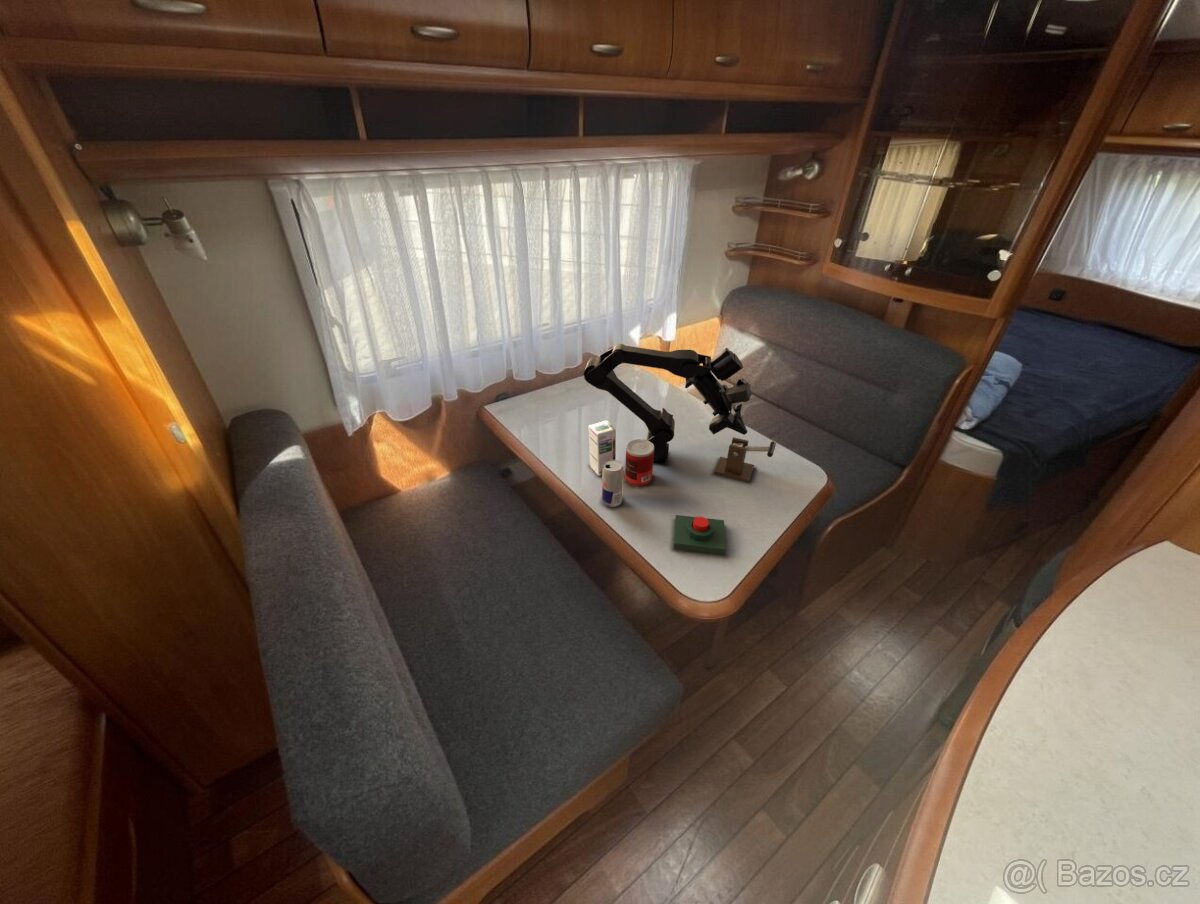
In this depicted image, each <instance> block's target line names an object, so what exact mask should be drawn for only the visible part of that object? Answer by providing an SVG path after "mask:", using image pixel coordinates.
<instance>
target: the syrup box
mask: <svg viewBox="0 0 1200 904" xmlns="http://www.w3.org/2000/svg"><path fill="white" fill-rule="evenodd" d="M616 433H617V429H616V428H615V427H614V426H613V425H612V424H611V423H610V421H608V420H603V421H601V422H600V421H599V422H597V423H593V424H589V425H588V443H589V445H588V446H589V466H590V468H591V469H592V471H594V472H595V474H596V475H597V476H598V477H600V476H602V467H603V464H604V462H606V461H608V460H617V459H616V455H617V454H616V453H617V452H616V450H617V448H616V447H617V445H616V443H617V441H616V439H617V438H616V437H617V434H616Z"/></svg>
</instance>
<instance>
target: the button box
mask: <svg viewBox="0 0 1200 904" xmlns="http://www.w3.org/2000/svg"><path fill="white" fill-rule="evenodd" d="M696 517H697V516H691V515H681V514H675V517H674V518H675V519H674V528H673V529H674V530H673V546H672V547H673V548H672V550H676V551H684V552H690V553H691V552H692V553H699V554H708V555H714V556H715V555H716V556H725V555H726V548H727V547H726V529H725V520H724V519H718V518H709V517H704V516H703V517H704V518H706V519H707V520H708V521H709V525H708V530H707V531H705V532H698V531H696V530H695V529H694V528H693V521H694V519H695V518H696Z"/></svg>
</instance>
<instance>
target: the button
mask: <svg viewBox="0 0 1200 904" xmlns="http://www.w3.org/2000/svg"><path fill="white" fill-rule="evenodd" d="M695 517H696V518H695V519H694V521H693V528H694V529H695V530H696V531H698V532H705V531H707V530H708V525H709V521H708V520H707V519H706V518H707V517H705V518H704V516H695Z"/></svg>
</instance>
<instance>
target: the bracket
mask: <svg viewBox="0 0 1200 904" xmlns="http://www.w3.org/2000/svg"><path fill="white" fill-rule="evenodd" d="M749 442H750V441H749V440H748V439H743V438H738V437H732V439H731V444H729V446H728V451H727V457H724V456H719V459H718V461H717V463H716V466H715V468H714V469H713V475H717V476H720V477H724V478H727V479H732V480H736V481H738V482H739V481H740V482H744V483H750V480H751V477H752V473H753V471H754V467H755V464H753V463H748V462H745V461H746V456H747V451H746V448H744V447H739V446H735V445H733V443H743V444H744V446H748V445H749Z"/></svg>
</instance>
